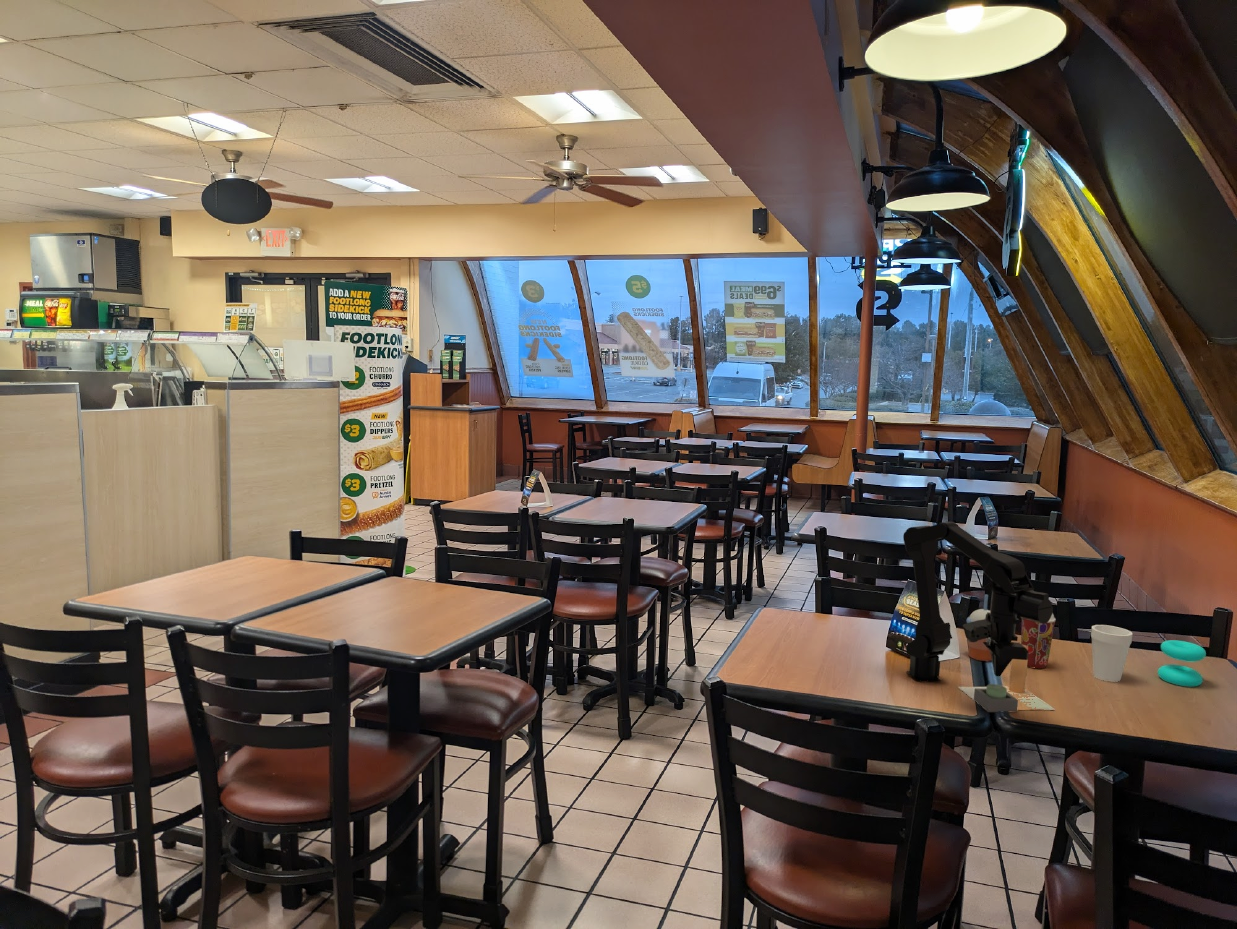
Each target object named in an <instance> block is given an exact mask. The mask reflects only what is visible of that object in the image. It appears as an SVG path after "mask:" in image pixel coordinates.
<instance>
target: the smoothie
mask: <svg viewBox="0 0 1237 929" xmlns="http://www.w3.org/2000/svg"><path fill="white" fill-rule="evenodd" d="M1055 623H1056V617H1055V615H1054V613H1053V612H1052V616H1051V618H1050V620H1049V621H1048V622H1047V623H1045V624H1041V623H1038V622H1035V621H1031V620H1028V619H1024V618H1021V631H1020V633H1021V636H1020V644H1023V645H1026V646H1028V651H1029V653H1028V661H1027V666H1029V667H1028V668H1030V667H1035V668H1034V669H1036V668H1042V669H1045V668H1046V666H1047V665H1048V664H1049V659H1050V654H1051V647H1052V641H1053V636H1054V629H1055Z"/></svg>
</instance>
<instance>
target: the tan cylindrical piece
mask: <svg viewBox="0 0 1237 929" xmlns="http://www.w3.org/2000/svg"><path fill="white" fill-rule="evenodd" d="M1022 645H1023V644H1022ZM1023 646H1024V647H1025V648H1026V649H1027V650H1028V646H1026V645H1023ZM1027 661H1028V660H1019V659H1012V660H1011V662H1010V663H1011V664H1010V669H1009V670H1010V673H1009V684H1008V686H1009V690H1010V691H1012V692H1015V693H1024V692H1025V689H1026V681H1027V679H1026V678H1027V670H1028V667H1027Z"/></svg>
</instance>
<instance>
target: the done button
mask: <svg viewBox="0 0 1237 929" xmlns="http://www.w3.org/2000/svg"><path fill="white" fill-rule="evenodd" d="M1003 686H1004V685H1000V684H995V683H989V684H987V685H986V687H987V688H986V694H987V695H988V696H989V697H991V698H1006V693H1007V689H1006V688H1005V687H1003Z"/></svg>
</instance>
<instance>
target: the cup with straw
mask: <svg viewBox="0 0 1237 929" xmlns="http://www.w3.org/2000/svg"><path fill="white" fill-rule="evenodd" d="M983 600H984V602H983V608H979V609H976V610H974V611H972V613H971V614H970V615H969V616H968V617H967V618H966V623H970V622H974V621H977V620H983V619H985V618H986V614H987V612H988V613H990V609H988V604H989V603H988V600H989V594H984V599H983ZM986 640H987V638H985V639H982V640H978V641H977V642H970V641H969V640H968V639H967V644H968V656H969V657H970V658H971V659H973V660H976V661H981V662H992V658H991V654H990V651H989V649H988V648H987V647H986V646H985V645H984V644H983V642H986Z"/></svg>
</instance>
